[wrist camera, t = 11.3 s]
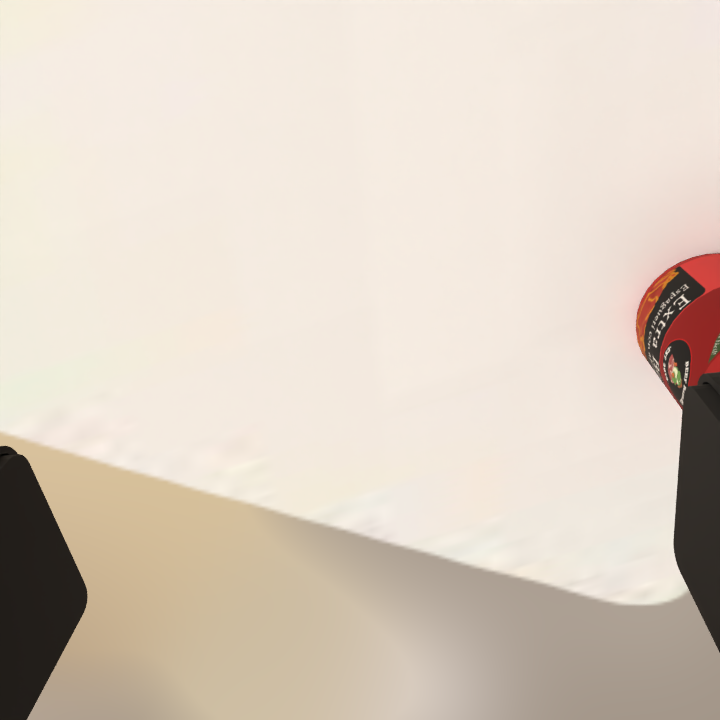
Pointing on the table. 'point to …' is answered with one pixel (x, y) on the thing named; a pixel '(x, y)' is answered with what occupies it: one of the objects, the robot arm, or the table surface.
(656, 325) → the canned food
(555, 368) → the table surface
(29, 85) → the table surface
